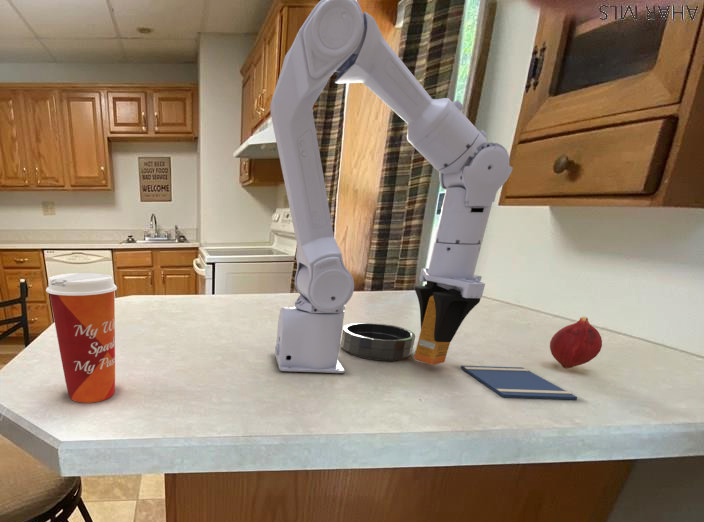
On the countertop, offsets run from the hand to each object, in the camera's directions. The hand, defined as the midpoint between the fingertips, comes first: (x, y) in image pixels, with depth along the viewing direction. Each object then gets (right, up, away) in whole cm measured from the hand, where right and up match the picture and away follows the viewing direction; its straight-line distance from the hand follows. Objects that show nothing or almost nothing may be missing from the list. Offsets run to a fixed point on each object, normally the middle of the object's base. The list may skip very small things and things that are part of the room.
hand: (435, 337), depth 64 cm
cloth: (+9, -7, -4) cm, 12 cm away
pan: (-5, -1, +9) cm, 10 cm away
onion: (+21, -5, +1) cm, 22 cm away
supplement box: (0, -4, +2) cm, 4 cm away
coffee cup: (-50, -9, -8) cm, 51 cm away
